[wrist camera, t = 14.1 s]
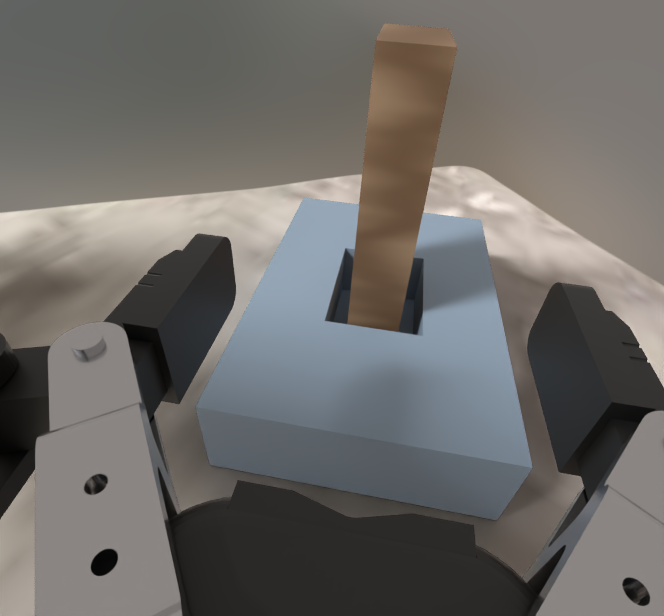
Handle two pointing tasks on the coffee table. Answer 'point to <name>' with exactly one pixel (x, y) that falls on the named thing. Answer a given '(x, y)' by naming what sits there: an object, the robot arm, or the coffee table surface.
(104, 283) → the coffee table surface
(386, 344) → the end cap
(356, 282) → the slat
